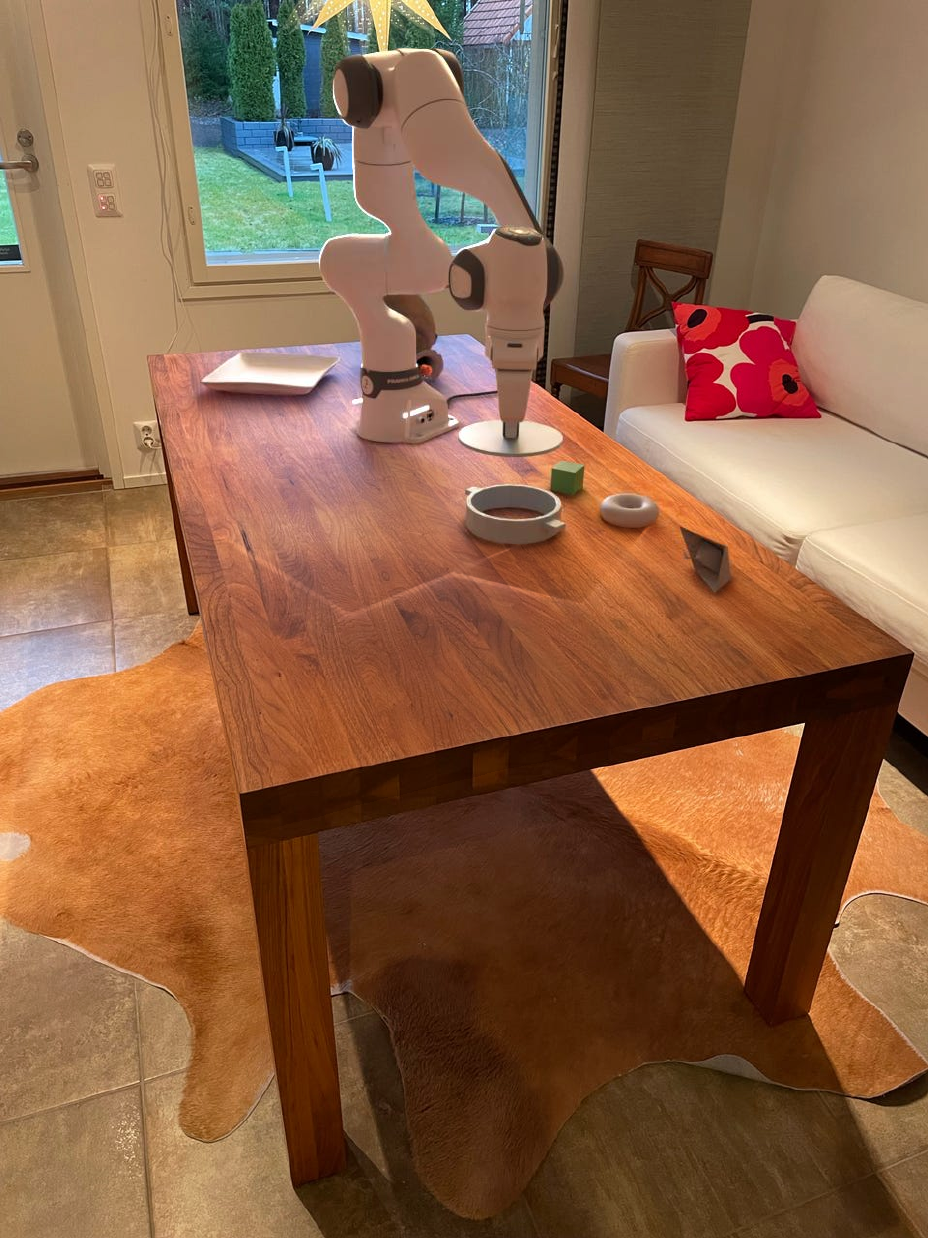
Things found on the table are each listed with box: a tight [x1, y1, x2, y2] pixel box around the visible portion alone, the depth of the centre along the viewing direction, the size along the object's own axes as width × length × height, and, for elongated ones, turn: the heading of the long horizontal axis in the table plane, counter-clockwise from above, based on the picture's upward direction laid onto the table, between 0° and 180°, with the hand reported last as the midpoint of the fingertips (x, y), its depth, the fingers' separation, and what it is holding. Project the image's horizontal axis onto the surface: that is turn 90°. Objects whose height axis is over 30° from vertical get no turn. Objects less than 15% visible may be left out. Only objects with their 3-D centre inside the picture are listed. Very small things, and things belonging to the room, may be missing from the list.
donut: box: [599, 492, 660, 529], centre depth 156 cm, size 10×3×10 cm
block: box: [549, 460, 585, 496], centre depth 167 cm, size 5×5×5 cm
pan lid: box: [457, 419, 564, 458], centre depth 145 cm, size 17×17×5 cm
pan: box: [464, 483, 567, 545], centre depth 153 cm, size 16×21×4 cm
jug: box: [383, 294, 445, 381], centre depth 235 cm, size 20×20×30 cm
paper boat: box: [679, 525, 732, 594], centre depth 138 cm, size 12×6×9 cm
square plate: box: [200, 352, 341, 396], centre depth 225 cm, size 27×27×4 cm
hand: (510, 432), depth 146 cm, fingers closed on pan lid, 2 cm apart
